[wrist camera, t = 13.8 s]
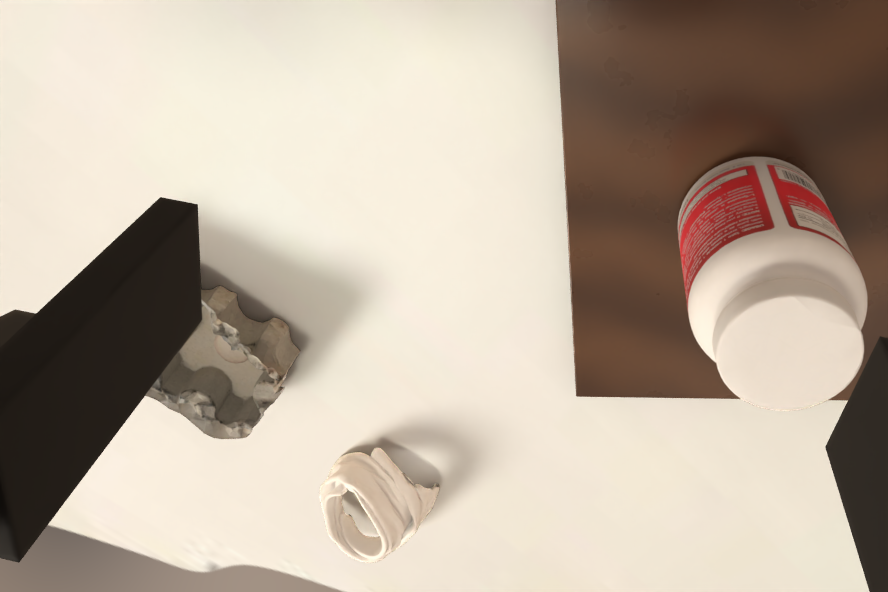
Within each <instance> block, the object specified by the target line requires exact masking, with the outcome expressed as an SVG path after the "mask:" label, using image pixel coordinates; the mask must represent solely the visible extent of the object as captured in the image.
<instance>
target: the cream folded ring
mask: <svg viewBox="0 0 888 592" xmlns="http://www.w3.org/2000/svg"><path fill="white" fill-rule="evenodd" d="M348 490H349V491H351V492H353V493H355V495H356V497H357V498H358V500H359V502H360V503H361V505H362V507H363V508H364V510H365V511H366V513H367V515H368V516H369V518H370V519H371V521H372V523H373V524H374V526H375V528H376V530H377V532H378V534H379V536H378V537H369V536H365V535H364V534H362V533H361V532H360V531H359V530H358V528H357V527H356V525H355V522H354V520H353V518H352V516H351V515H350V514H349V515H346V514H345V512H344V508H343V505H342V495H343V494H345V493H346V492H347V491H348ZM438 492H439V485H438V484H434V485H433V487H432V488H431V489H430V488H424V487H422V486H421V485H420V484H416V485H415V484H413V483H412V481H411V480H410V479H409V478H408V476H407V475H406V474H405V473H402V472H401V471H400V470H399V468H398V467H397V466H396V465H395V464H394V463H393V462H392V460H391V459H390V458H389V457H388V456H387V454H386V453H385V452H384V451H383V450H382V449H381V448H375V449H374V450H373V451H372V453H371V456H369V455H367V454H364V453H361V452H354V453H350V454H345V455H343V456H342V457H340V458H339V459H338V460H337V462H336V463H335V464H334V466H333V468H332V469H331V471H330V473H329V475H328V478H327V480H325V481H324V483H323V484H322V485H321V488H320V503H321V507H322V510H323V515H324V519H325V525H326V529H327V532H328V534H329V536H330V538H331V539H332V540H333V541H334V542H335V543H336V544H337V545H338V547H339V548H340V549H341V550H342V551H343V552H344V553H345V554H346V555H347V556H349V557H351V558H353V559H355V560H358V561H361V562H366V563H373V562H378V561H380V560H382V559H384V558H385V557H386V556H387V555H388V554H390V553H391V552H393V551H394V550H396V549H397V548H399V547H401V546H402V545H403V544H405V543H406V542H407V541H408V540H409V539H410V538H411V537H412V536H413V535H414V534H415V533H416V531H417V529H418V527H419V525H420V523H421V522H422V521H423V520H424V519H425V517H426V516H427V515H428V513H429V512H430V511H431V509H432V508H433V505H434V502H435V500H436V498H437V496H438Z"/></svg>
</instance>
